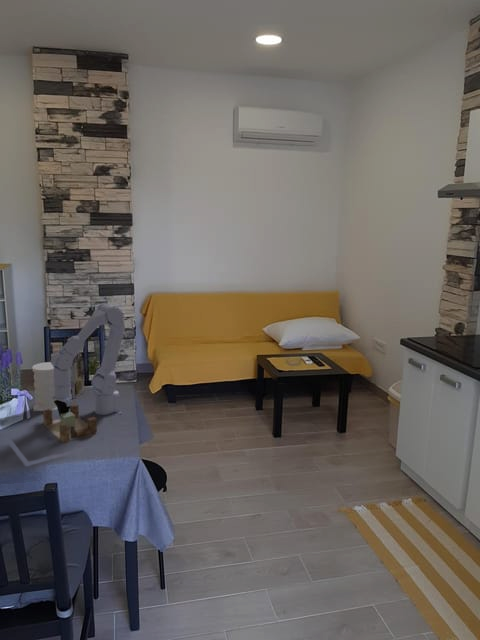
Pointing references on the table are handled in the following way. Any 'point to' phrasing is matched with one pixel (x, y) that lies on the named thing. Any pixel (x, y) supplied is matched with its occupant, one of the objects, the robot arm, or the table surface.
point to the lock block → (68, 419)
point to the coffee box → (77, 377)
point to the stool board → (58, 423)
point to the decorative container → (44, 386)
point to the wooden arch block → (90, 429)
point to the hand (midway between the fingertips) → (63, 418)
